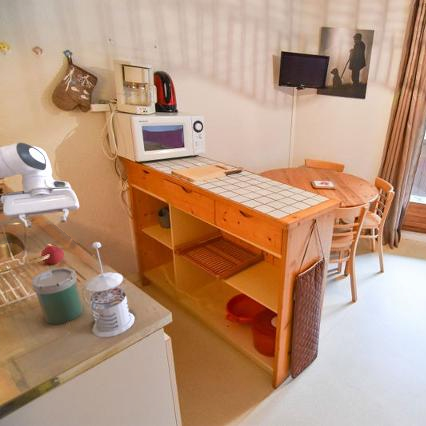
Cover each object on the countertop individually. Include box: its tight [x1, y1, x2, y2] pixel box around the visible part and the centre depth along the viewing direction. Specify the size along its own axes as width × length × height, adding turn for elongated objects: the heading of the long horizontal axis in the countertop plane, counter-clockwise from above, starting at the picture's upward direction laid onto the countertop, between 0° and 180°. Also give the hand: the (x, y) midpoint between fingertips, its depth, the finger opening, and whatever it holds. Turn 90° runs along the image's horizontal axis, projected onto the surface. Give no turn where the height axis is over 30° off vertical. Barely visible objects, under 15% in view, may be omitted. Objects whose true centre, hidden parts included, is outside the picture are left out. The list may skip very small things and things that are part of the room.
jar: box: [30, 266, 84, 325], centre depth 85 cm, size 9×9×12 cm
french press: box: [82, 241, 136, 338], centre depth 81 cm, size 10×12×25 cm
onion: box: [40, 243, 65, 265], centre depth 107 cm, size 6×6×8 cm
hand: (46, 224), depth 110 cm, fingers open, 8 cm apart
